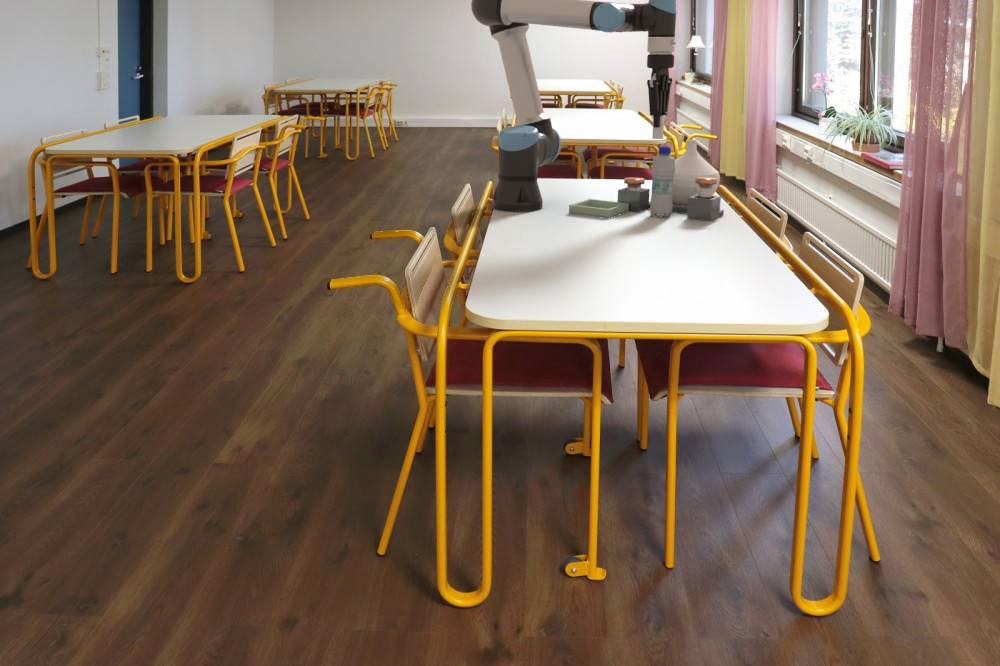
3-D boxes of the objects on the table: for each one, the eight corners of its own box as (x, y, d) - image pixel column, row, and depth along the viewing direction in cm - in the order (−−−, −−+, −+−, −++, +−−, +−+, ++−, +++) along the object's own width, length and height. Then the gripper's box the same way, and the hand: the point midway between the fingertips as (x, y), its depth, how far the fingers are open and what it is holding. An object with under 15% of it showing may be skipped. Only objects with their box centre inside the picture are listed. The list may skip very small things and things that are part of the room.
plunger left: (619, 206, 288) (620, 179, 286) (628, 203, 293) (629, 176, 291) (638, 209, 285) (639, 181, 283) (646, 206, 290) (648, 178, 288)
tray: (568, 213, 282) (569, 205, 281) (589, 207, 293) (589, 198, 292) (609, 218, 276) (609, 209, 275) (628, 211, 286) (629, 203, 285)
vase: (651, 197, 310) (655, 136, 304) (707, 197, 312) (711, 136, 306) (666, 208, 293) (671, 143, 287) (725, 207, 294) (731, 143, 289)
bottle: (671, 219, 276) (676, 147, 270) (648, 217, 278) (652, 147, 272) (672, 214, 283) (677, 145, 277) (649, 213, 284) (653, 144, 278)
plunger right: (690, 207, 277) (692, 179, 274) (697, 204, 282) (699, 176, 279) (710, 210, 274) (712, 181, 271) (717, 206, 279) (720, 178, 276)
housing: (617, 210, 289) (618, 189, 287) (631, 204, 297) (633, 185, 295) (710, 221, 274) (712, 199, 272) (723, 215, 283) (725, 194, 281)
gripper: (664, 54, 266) (661, 141, 273) (682, 53, 276) (678, 137, 283) (639, 54, 270) (636, 140, 277) (657, 53, 280) (654, 136, 287)
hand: (657, 138), depth 280 cm, fingers closed
